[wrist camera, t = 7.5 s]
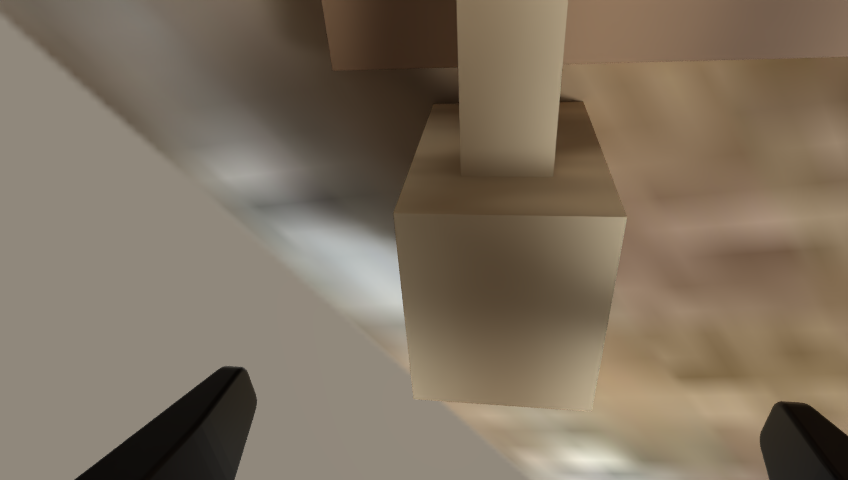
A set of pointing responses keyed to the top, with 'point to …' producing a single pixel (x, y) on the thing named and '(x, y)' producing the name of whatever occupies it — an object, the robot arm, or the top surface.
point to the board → (596, 31)
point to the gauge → (508, 224)
